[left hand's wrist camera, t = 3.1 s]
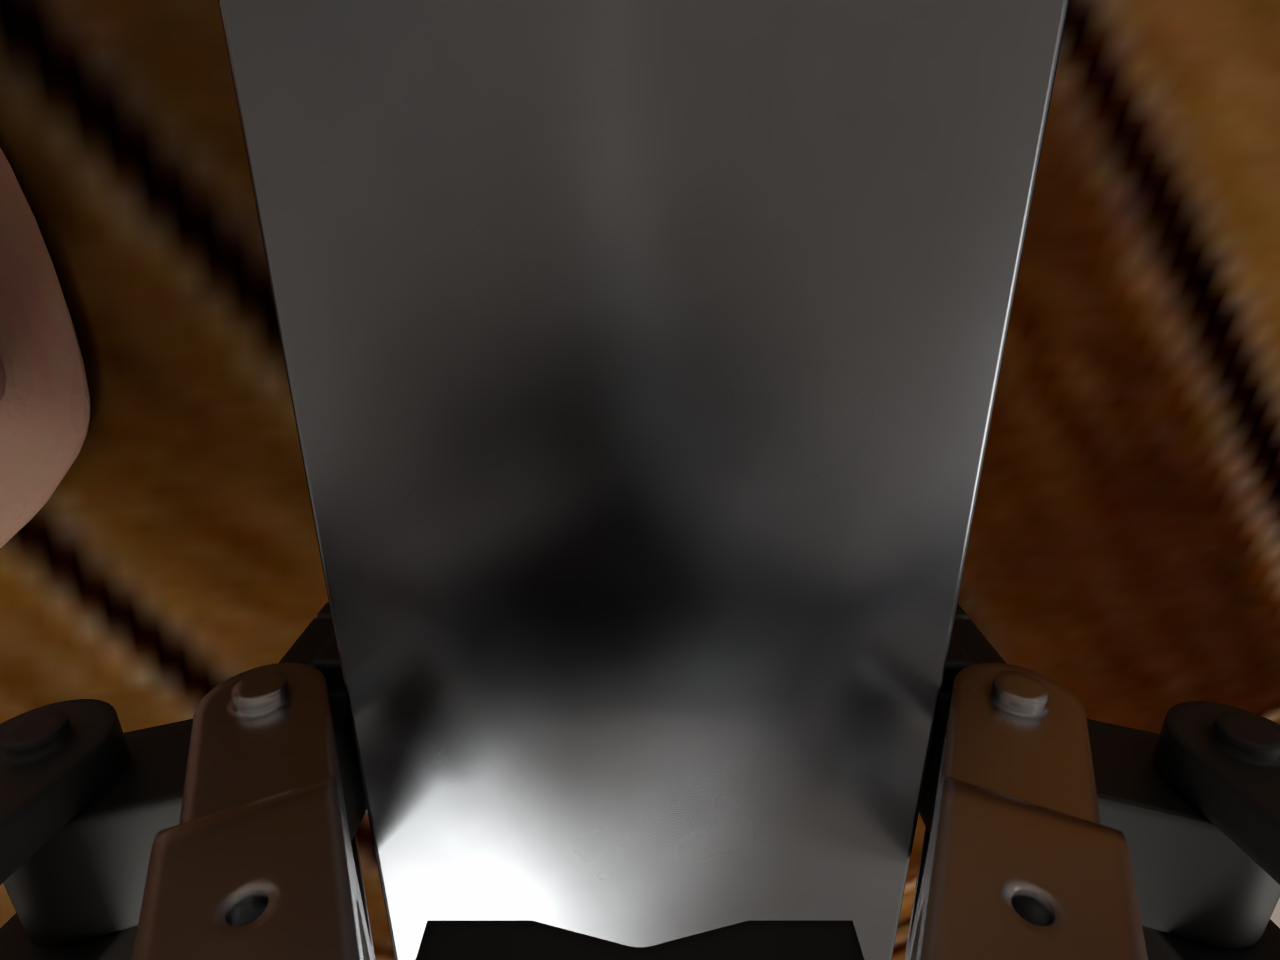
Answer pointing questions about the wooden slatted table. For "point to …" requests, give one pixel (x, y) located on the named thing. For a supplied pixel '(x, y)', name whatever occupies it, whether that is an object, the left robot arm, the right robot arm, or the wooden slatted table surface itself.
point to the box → (643, 426)
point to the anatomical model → (34, 367)
